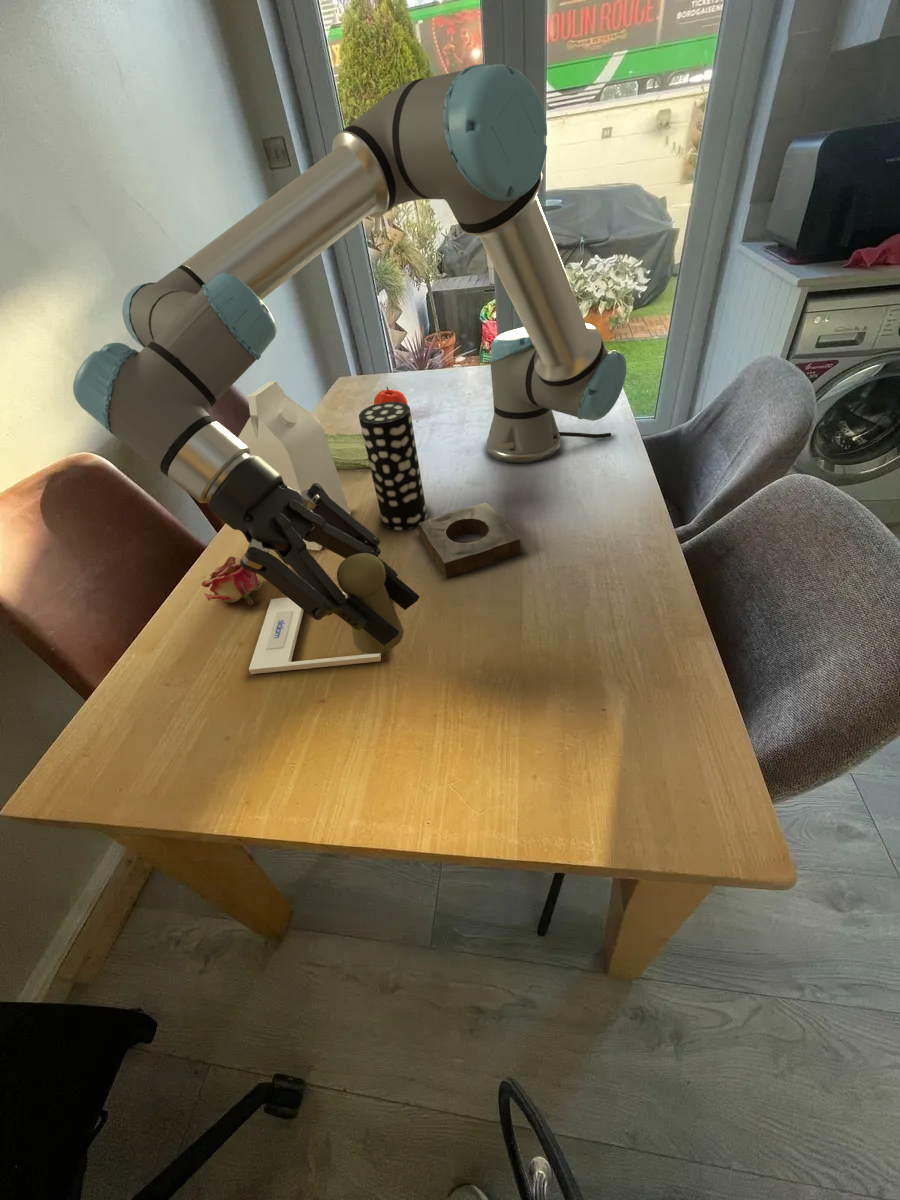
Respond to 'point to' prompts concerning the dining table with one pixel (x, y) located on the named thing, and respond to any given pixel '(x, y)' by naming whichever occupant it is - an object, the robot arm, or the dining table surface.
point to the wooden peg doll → (369, 597)
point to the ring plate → (469, 555)
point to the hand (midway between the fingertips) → (402, 620)
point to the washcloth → (348, 450)
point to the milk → (291, 444)
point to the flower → (232, 582)
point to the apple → (389, 397)
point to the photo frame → (290, 642)
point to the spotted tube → (394, 464)
